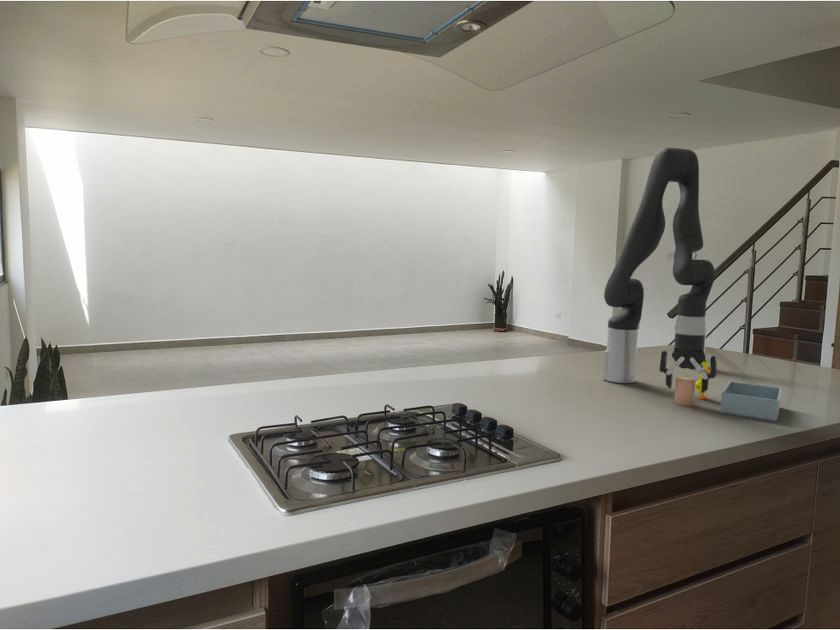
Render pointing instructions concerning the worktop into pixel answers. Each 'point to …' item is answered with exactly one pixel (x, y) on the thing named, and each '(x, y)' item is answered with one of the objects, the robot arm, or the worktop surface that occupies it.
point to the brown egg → (684, 391)
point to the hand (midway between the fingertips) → (686, 389)
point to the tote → (751, 401)
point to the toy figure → (699, 383)
